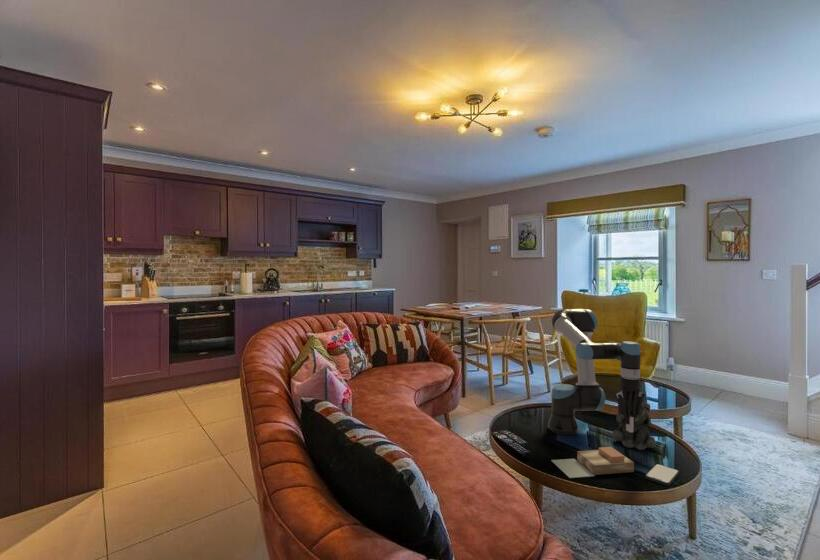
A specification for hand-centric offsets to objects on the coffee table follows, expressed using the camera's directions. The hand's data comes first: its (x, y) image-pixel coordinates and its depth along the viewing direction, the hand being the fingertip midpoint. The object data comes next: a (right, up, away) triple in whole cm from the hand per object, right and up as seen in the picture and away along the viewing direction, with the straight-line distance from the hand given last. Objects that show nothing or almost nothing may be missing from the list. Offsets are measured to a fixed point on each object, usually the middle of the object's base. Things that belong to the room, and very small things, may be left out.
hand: (629, 431), depth 174 cm
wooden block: (-11, -15, -1) cm, 19 cm away
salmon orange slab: (-8, -11, -1) cm, 14 cm away
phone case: (+9, -16, -9) cm, 20 cm away
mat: (-27, -15, -3) cm, 30 cm away
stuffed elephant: (+14, -14, +22) cm, 30 cm away
